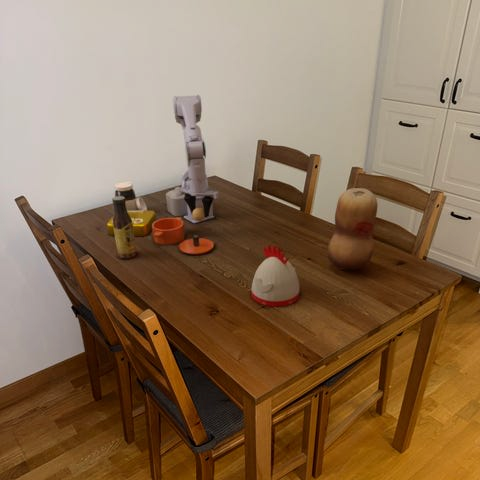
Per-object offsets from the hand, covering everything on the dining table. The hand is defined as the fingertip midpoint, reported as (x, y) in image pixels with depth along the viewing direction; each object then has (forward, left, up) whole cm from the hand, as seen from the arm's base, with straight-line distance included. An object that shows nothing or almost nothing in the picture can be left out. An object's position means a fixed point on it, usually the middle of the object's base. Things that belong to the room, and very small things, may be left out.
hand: (200, 215), depth 170 cm
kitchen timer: (+7, +49, -8) cm, 50 cm away
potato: (0, 0, -1) cm, 1 cm away
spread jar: (+10, -36, -8) cm, 38 cm away
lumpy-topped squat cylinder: (-8, -25, -8) cm, 27 cm away
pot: (+11, -5, -7) cm, 14 cm away
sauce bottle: (+29, -2, -8) cm, 30 cm away
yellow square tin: (+17, -22, -8) cm, 29 cm away
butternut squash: (-21, +52, -8) cm, 57 cm away
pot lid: (+8, +9, -7) cm, 13 cm away
